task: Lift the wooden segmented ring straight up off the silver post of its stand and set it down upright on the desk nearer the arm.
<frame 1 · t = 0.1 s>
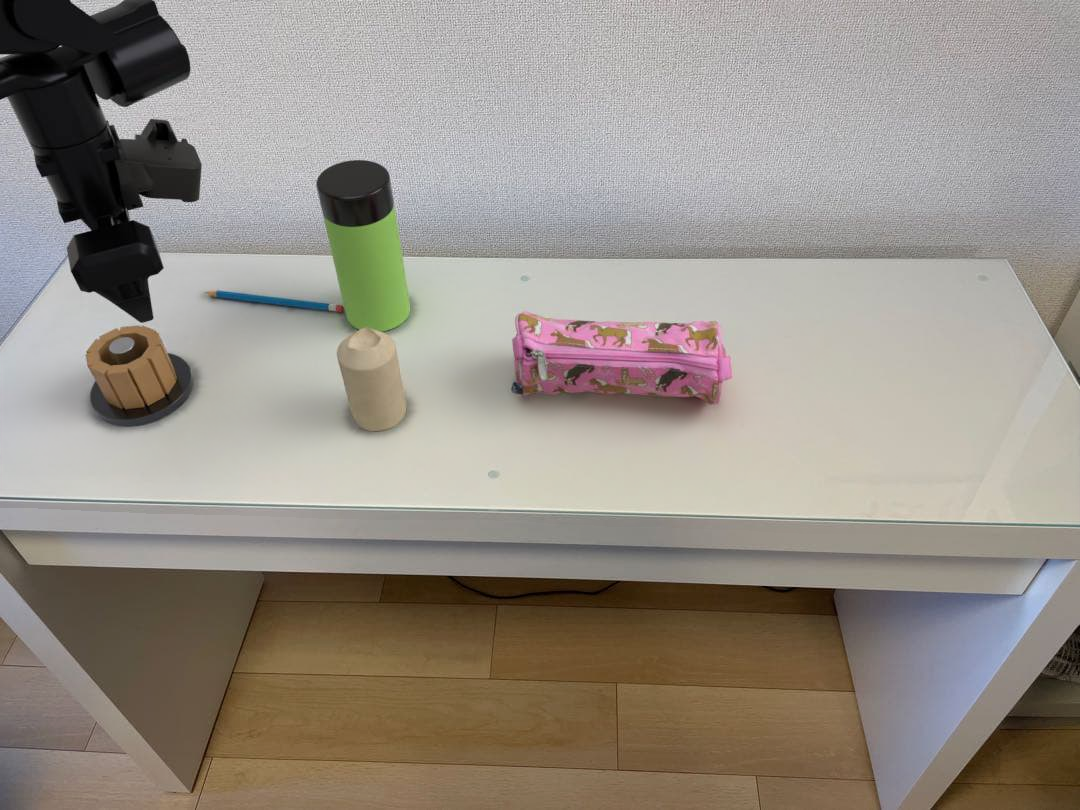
hand: (139, 290, 77), 15 cm above the table, tool pointing down, fingers open, 9 cm apart
wooden segmented ring: (141, 384, 88), point 1 cm above the table, touching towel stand
pencil case: (617, 390, 88), on the table
candle: (380, 413, 87), on the table
pencil: (273, 304, 99), on the table
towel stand: (144, 391, 89), on the table
tumbler: (379, 313, 98), on the table
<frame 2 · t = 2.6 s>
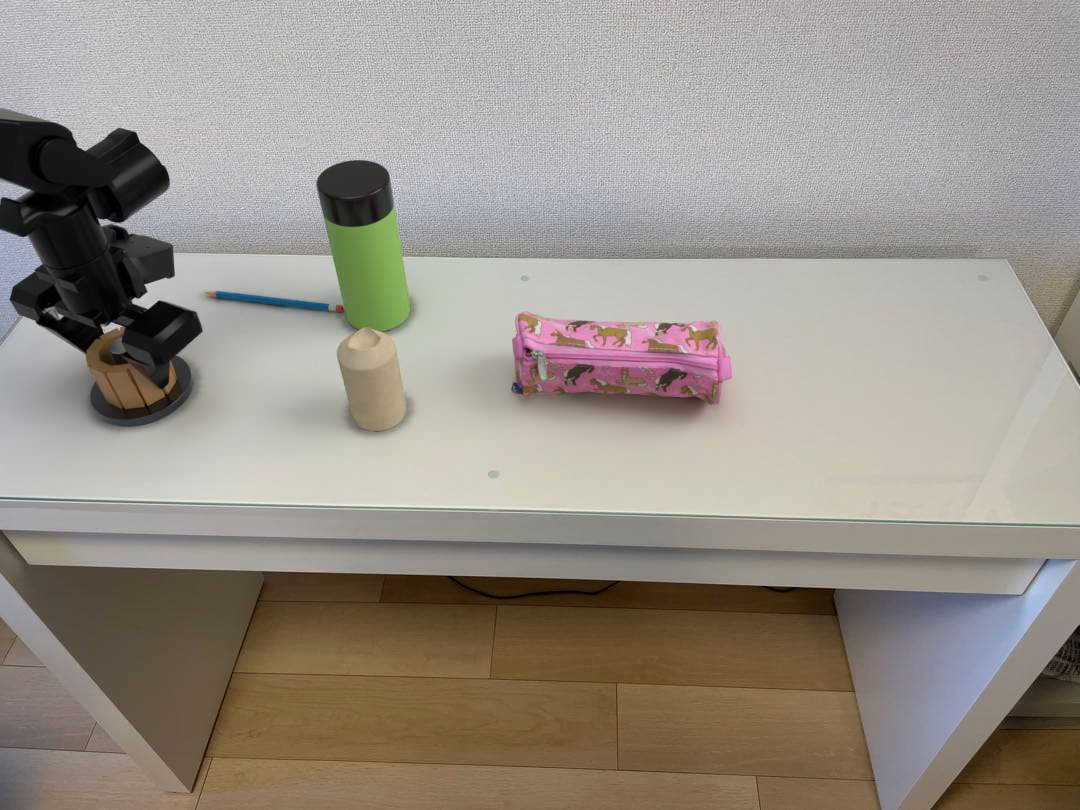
hand: (136, 375, 87), 2 cm above the table, tool pointing down, fingers closed on wooden segmented ring, 7 cm apart
wooden segmented ring: (140, 384, 88), point 1 cm above the table, touching gripper, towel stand
everything else where it was.
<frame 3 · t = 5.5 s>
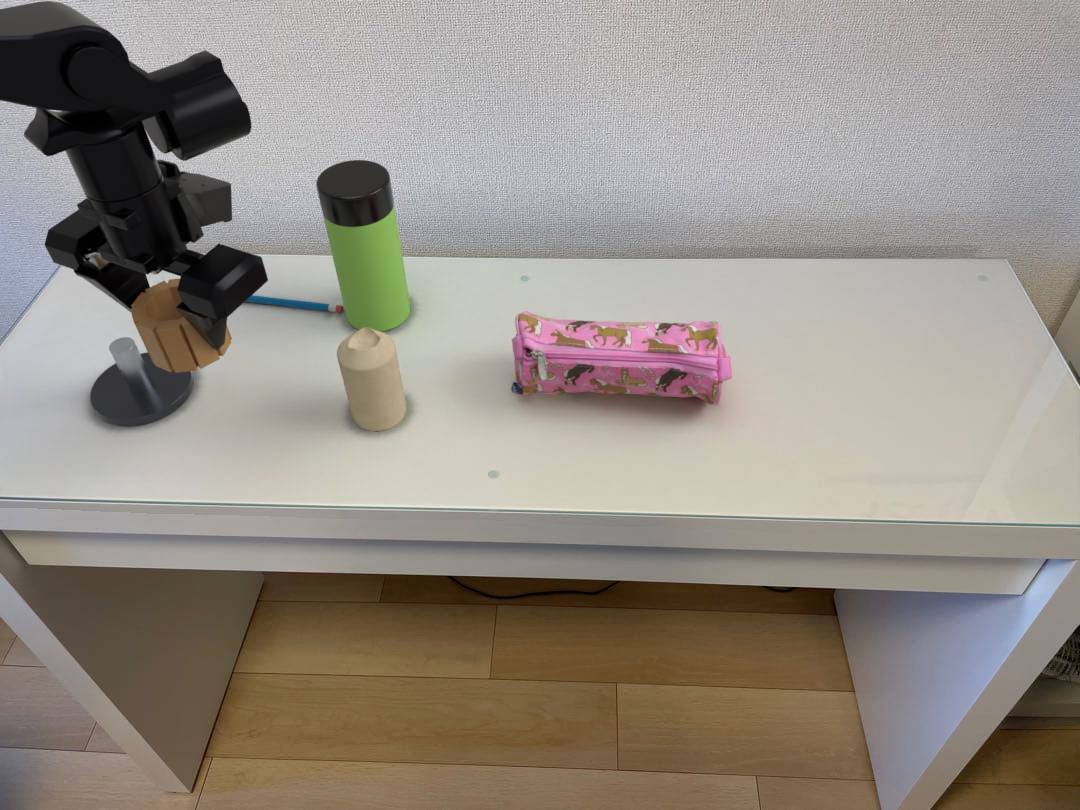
hand: (186, 334, 77), 12 cm above the table, tool pointing down, fingers closed on wooden segmented ring, 7 cm apart
wooden segmented ring: (191, 345, 78), point 11 cm above the table, touching gripper
everything else where it was.
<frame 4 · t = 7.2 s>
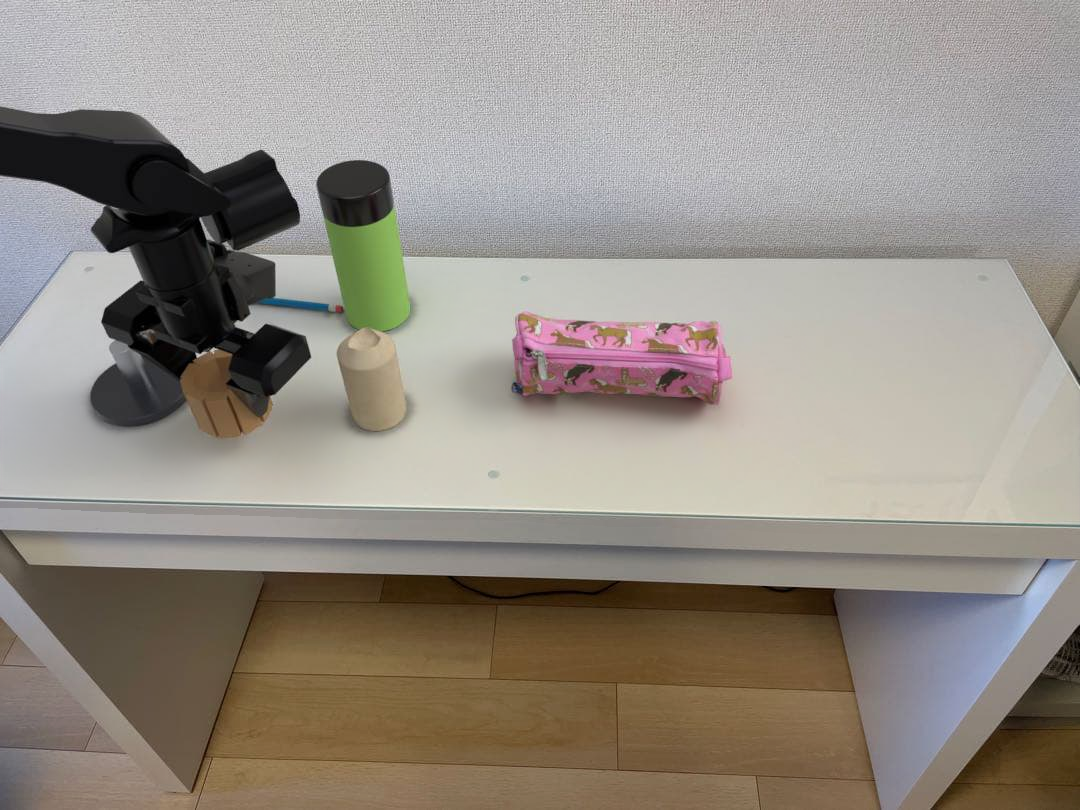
hand: (230, 402, 81), 5 cm above the table, tool pointing down, fingers closed on wooden segmented ring, 7 cm apart
wooden segmented ring: (234, 411, 82), point 3 cm above the table, touching gripper
everything else where it was.
when the fingers open (1 cm above the table, at t = 8.7 s): wooden segmented ring stays where it is, on the table.
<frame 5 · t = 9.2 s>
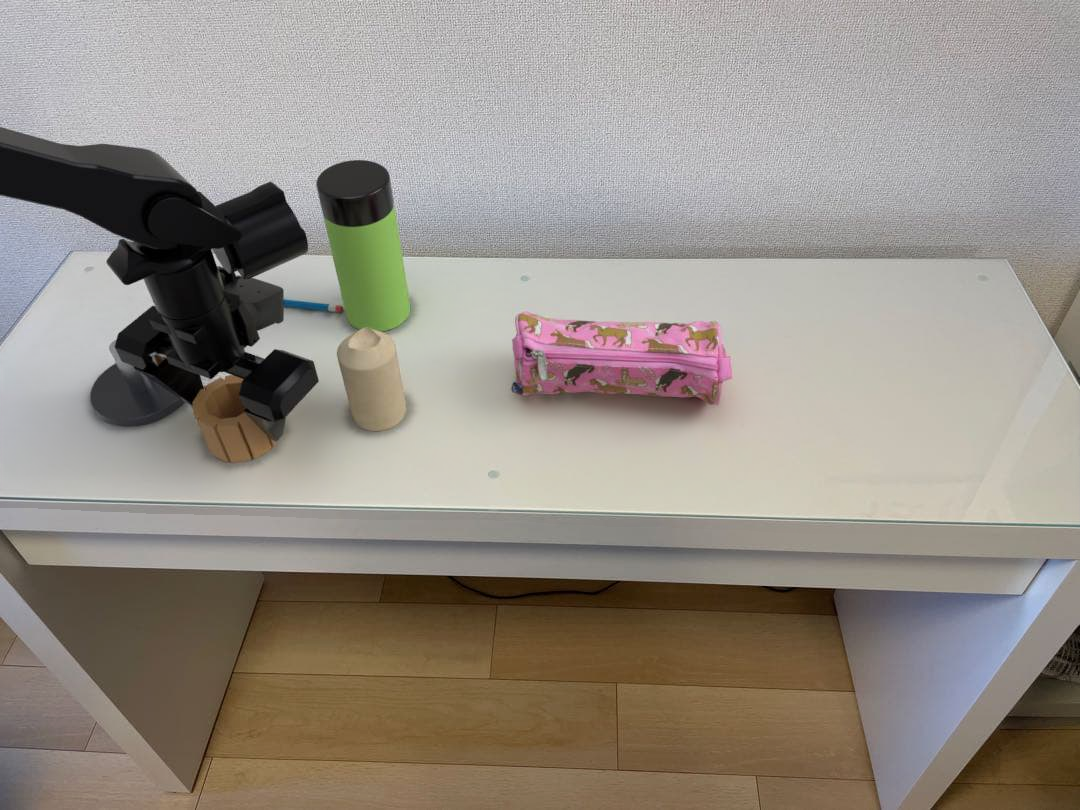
hand: (240, 422, 83), 2 cm above the table, tool pointing down, fingers open, 9 cm apart
wooden segmented ring: (244, 435, 85), on the table
everything else where it was.
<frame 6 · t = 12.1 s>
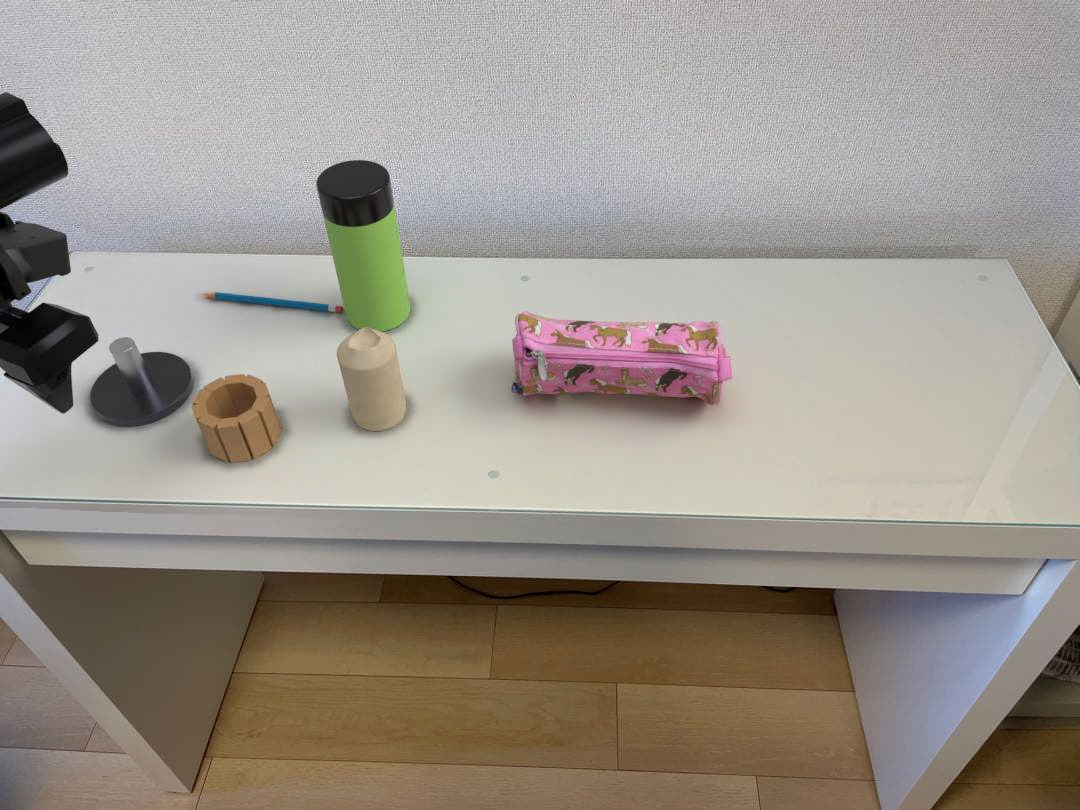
hand: (27, 392, 72), 12 cm above the table, tool pointing down, fingers open, 9 cm apart
nothing on the table moved.
at the end: wooden segmented ring inside the target area (0.1 cm from its centre), on the table; wooden segmented ring tilted 0°; wooden segmented ring touching table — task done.
